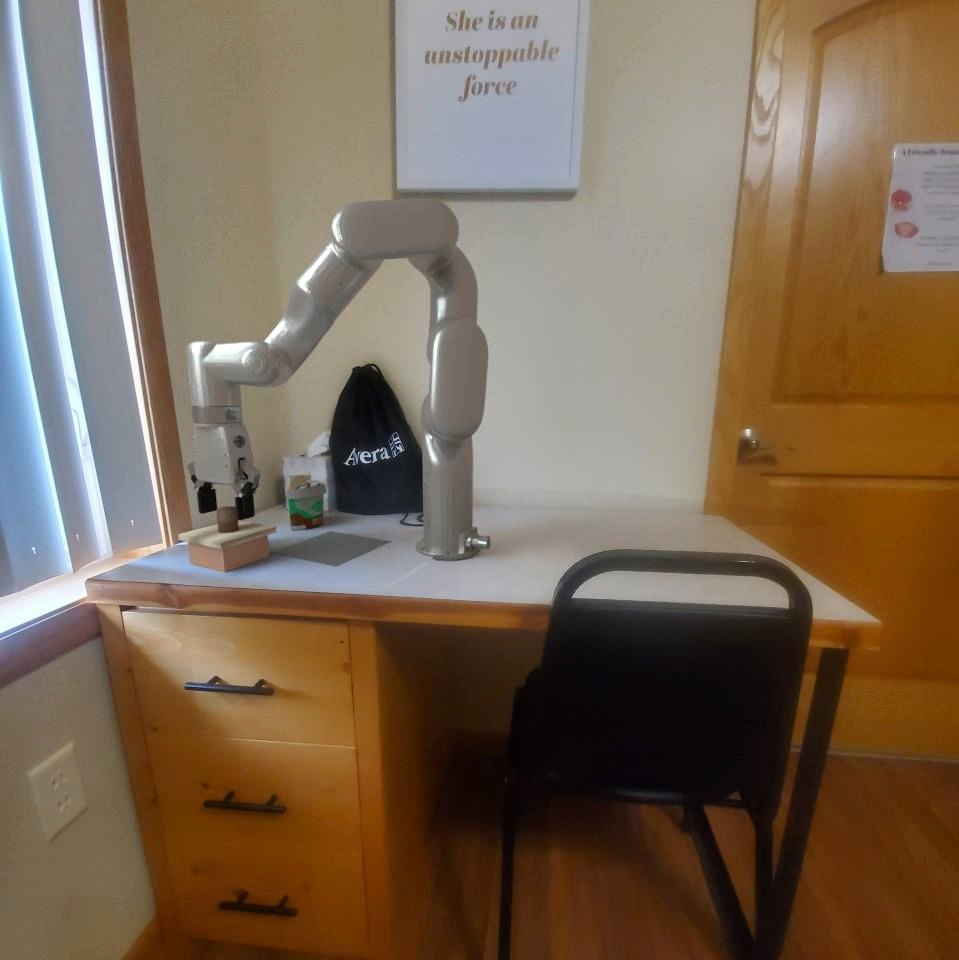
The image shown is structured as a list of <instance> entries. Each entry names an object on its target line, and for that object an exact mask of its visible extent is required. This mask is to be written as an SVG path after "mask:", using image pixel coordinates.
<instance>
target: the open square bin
mask: <svg viewBox="0 0 959 960" xmlns="http://www.w3.org/2000/svg"><path fill="white" fill-rule="evenodd" d="M187 547H188V557H189V564H190V565H194V566H196V567H197V566H198V567H202V568H205V569H210V570H215V571H217V572H222V573H227V572H230V571H232V570H235V569H238V568H240V567H243V566H247V565H249V564H252V563H255V562H257V561H260V560H263V559H266V558H269V557H270V549H269V548H270V546H269V535H266V536H263V537H260V538H256V539H253V540H250V541H247V542H243V543H240V544H237V545H234V546H231V547H227V548H224V549H218V548H213V547H209V546H204V545H200V544H195V543H191V542H187Z"/></svg>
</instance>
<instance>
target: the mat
mask: <svg viewBox="0 0 959 960" xmlns="http://www.w3.org/2000/svg"><path fill="white" fill-rule="evenodd" d="M389 543H392V541H390V540H386V539H385V540H384V539H380V538H374V537H368V536H362V535H355V534H350V533H346V532H345V533H344V532H338V531H332V530H329V531H327V532H324V533H321V534H318V535H315V536H312V537H310V538H307V539H304V540H301V541H298V542H296V543H292V544H290V545H288V546H284V547H282V548H279V549H275V550H273V551H271V552H270V551H269V554H270V553H271V554H275V555H279V556H283V557H284V556H285V557H289V558H294V559H298V560H303V561H309V562H313V563H319V564H323V565H326V566H327V565H328V566H332V567H339V566H341V565H342V564H345V563H347V562H350V561H352V560H354V559H356V558H358V557H360V556H362V555H365V554H367V553H370V552H372V551H374V550H376V549H379V548H381V547H383V546H385V545H387V544H389Z"/></svg>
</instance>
